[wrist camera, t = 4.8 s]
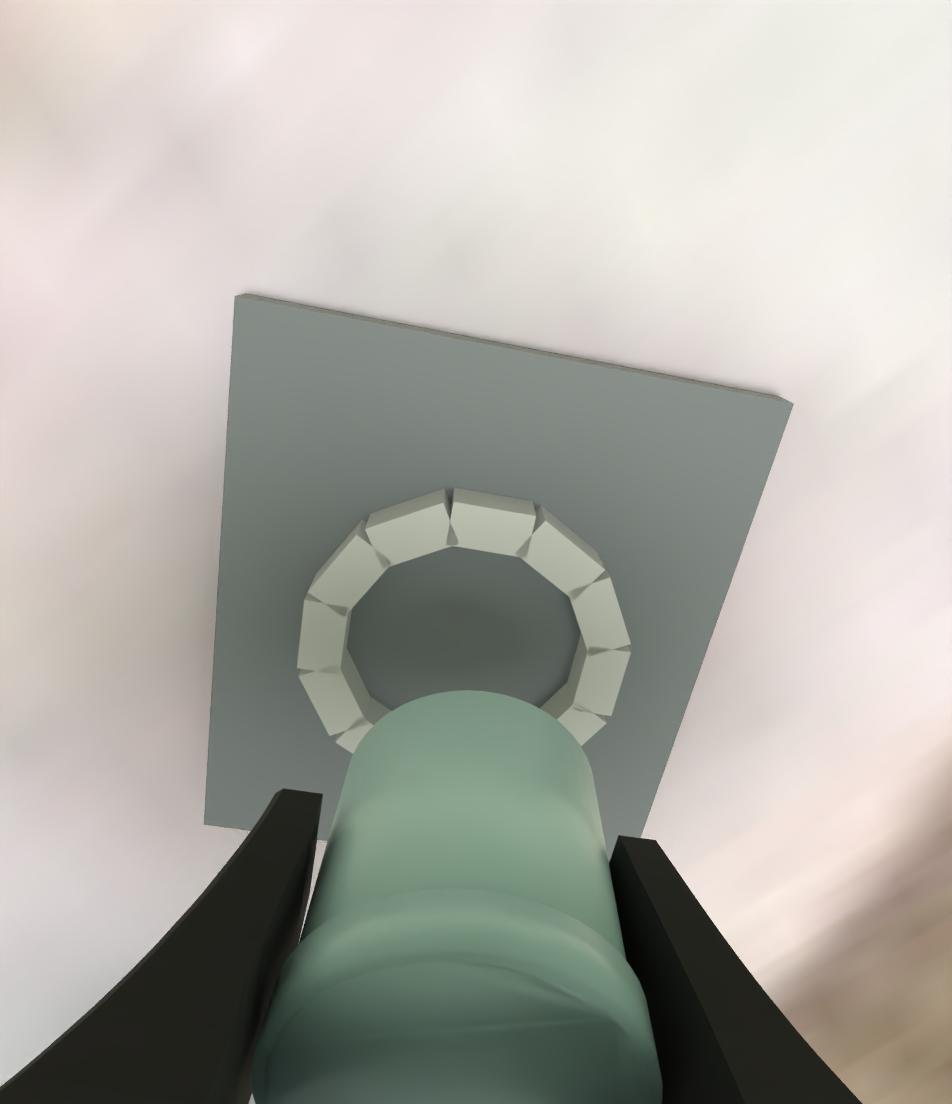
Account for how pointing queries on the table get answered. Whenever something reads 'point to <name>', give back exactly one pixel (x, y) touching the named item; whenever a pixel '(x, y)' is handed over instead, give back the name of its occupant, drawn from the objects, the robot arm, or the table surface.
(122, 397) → the table surface
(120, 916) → the table surface
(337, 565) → the socket board
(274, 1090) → the cup
